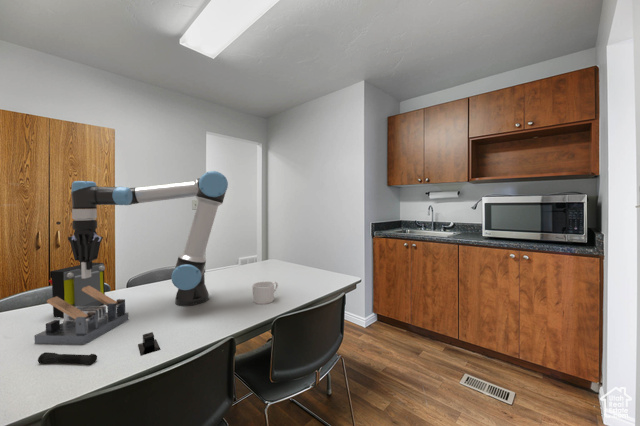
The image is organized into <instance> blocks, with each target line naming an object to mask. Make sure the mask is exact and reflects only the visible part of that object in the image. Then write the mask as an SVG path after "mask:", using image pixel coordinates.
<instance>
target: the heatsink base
mask: <svg viewBox="0 0 640 426" xmlns="http://www.w3.org/2000/svg"><path fill="white" fill-rule="evenodd" d="M116 302H118V304H117V305H116V303H108V304H107V305H105V306H102V305H99V306H76V307H75V308H77V309H79V310H80V311H82V312H84V313H85V314H87V315H89V317H88V318H87V319H86V317H76V320H75V319H74V318H72V317H70V316H69V315H67V314H65V313H64V318H63V321H62V323H61V322H60V319H54V320H51V321H49V322H46V323H45V330H44V331H41V332H39V333H37V334H35V335H34V336H33V338H34V344H36V345H73V346H74V345H78V346H79V345H81V346H84V345H85V344H87V343H89V342H91V341H93V340H96V339H97V338H98V337H100V336H102V335H104V334H105V333H107V332H109V331H111V330H113V329H114V328H116V327H119V326H120V325H122V324H124V323H126V322H127V321H129V319H130V318H129V312H126V299H124V298H121V299H120V298H119V299H116ZM106 306H107V307H106Z"/></svg>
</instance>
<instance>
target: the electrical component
mask: <svg viewBox="0 0 640 426" xmlns="http://www.w3.org/2000/svg"><path fill="white" fill-rule="evenodd" d="M105 269H106V266H105V264H104V262H92V269H91V277H89V278H85V279H83V278H82V273H81V269H80V264H78V265H73V266H69V267H64V268H60V269H59V268H58V269H55V270H54V269H53V270H50V271H49V278H50V279H49V280H48V282H49V283H50V284H51V288H52V290H51V291H52V298H53V297H56V296H57V297H59V298H60V299H62V300H64V301H65V302H67V303H69V304H70V305H72V306H74V307H76V306H102V305H104V304H103V303H102V302H100V301H98V300H97V299H95V298H93V297H92V296H90V295H88V294H87V293H85V292H83V291H82V288H84V287H87V286H91V287H93V288H94V289H96V290H98V291H100V292H101V293H103V294H105V272H104V271H105ZM105 295H106V294H105ZM52 311H53V313H52V314H53V315H52V316H53V318H58V317H60V319H64V312H62V311H60V310H59V309H57V308H55V307H54V306H52Z"/></svg>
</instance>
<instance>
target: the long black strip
mask: <svg viewBox="0 0 640 426" xmlns="http://www.w3.org/2000/svg"><path fill="white" fill-rule="evenodd" d="M97 360H98V355H97V354H96V353H91V354H75V353H74V354H72V353H65V354H64V353H62V354H61V353H56V352H48V351H47V352H43V353H41V354H40V355H39V356H38V358H37V363H39V364H55V363H58V364H59V363H60V364H63V363H64V364H67V363H68V364H82V365H83V364H85V365H86V364H87V365H93V364H95V363H96V362H97Z"/></svg>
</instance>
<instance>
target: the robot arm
mask: <svg viewBox="0 0 640 426" xmlns="http://www.w3.org/2000/svg"><path fill="white" fill-rule="evenodd" d="M228 186H229V181H228V180H227V177H226V176H225V175H224V174H223V173H221V172H219V171H218V170H217V171H216V170H211V171H206V172H204V173H203V174H202V175H201V176H200V178H195V180H192V181H183V182H172V183H164V184H155V185H147V186H145V185H144V186H137V187H127V186H126V187H125V186H99V185H98V186H97V183H96V182H95V181H87V180H86V181H85V180H74V181H72V183H71V191H70V193H71V218H72V219H73V221H72V229H73V230H74V232H73V235H72V236H68V237H67V240H68V242H69V243H70V248H71V251H72V255H73V258H74V261H78V262H79V265H80V269H81V273H82V278H83V279H85V278H89V277H91V269H92V263H93V262H94V261H96V260H98V257H99V252H100V247H101V242H102V241H103V238H104V237H103V236H99V235H98V232H97V229H98V220H97V218H98V212H97V210H98V208H97V207H98V206H103V205H104V206H131V205H136V204H145V203H153V202H160V201H169V200H175V199H177V200H179V199H185V198H192V197H195V198H196V199H197V201H198V203H197V205H196V208H195V211H194V212H195V213H194V215H193V219H192V223H191V226H190V229H189V233H188V236H187V240H186V242H185V246H184V250H183V253H181V254H179V255H178V257H177V260H176V264H175V267H174V269H173V271H172V273H171V276H170V277H171V279H170V280H171V283H172V284H173V286H174V287H175V288H177V292H176V295H175V301H174V302H175V305H177V306H179V307H180V306H182V307H185V306H186V307H187V306H194V305H199V304H202V303H205V302H207V301H208V300H209V298H210V297H209V296H210V295H209V291H208V288H207V286H206V283H205V280H206V278H205V266H206V262H207V259H206V258H205V252H206V251H207V250H206V249H207V246H208V244H209V240H210V236H211V233H212V230H213V229H212V228H213V226H214V222H215V219H216V215H217V212H218V211H217V210H218V209H219V207H220V206H222V205H223V203H224V200H225V196H226V193H227V190H228V188H229V187H228Z"/></svg>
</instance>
